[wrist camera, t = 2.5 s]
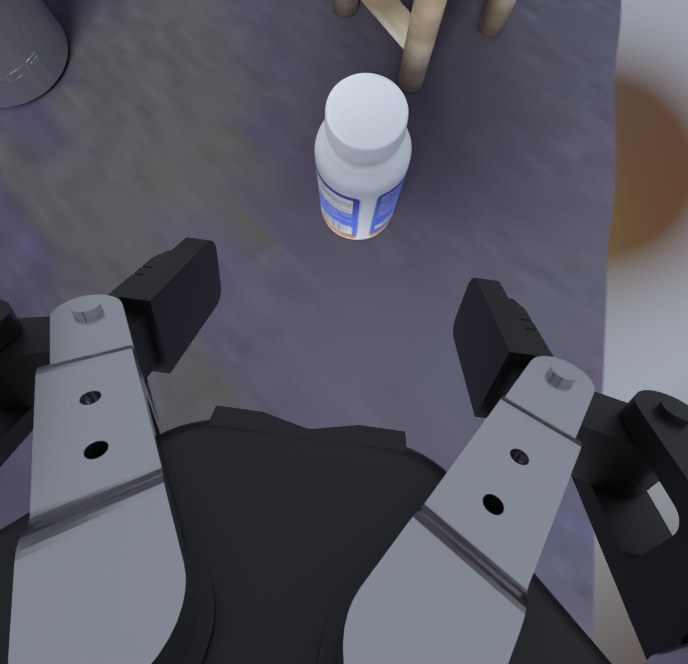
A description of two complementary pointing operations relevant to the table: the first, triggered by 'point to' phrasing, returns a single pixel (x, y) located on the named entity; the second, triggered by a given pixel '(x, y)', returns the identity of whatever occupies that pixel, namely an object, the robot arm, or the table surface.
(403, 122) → the pill bottle
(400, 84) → the small wooden stool
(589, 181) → the table surface
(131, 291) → the robot arm
